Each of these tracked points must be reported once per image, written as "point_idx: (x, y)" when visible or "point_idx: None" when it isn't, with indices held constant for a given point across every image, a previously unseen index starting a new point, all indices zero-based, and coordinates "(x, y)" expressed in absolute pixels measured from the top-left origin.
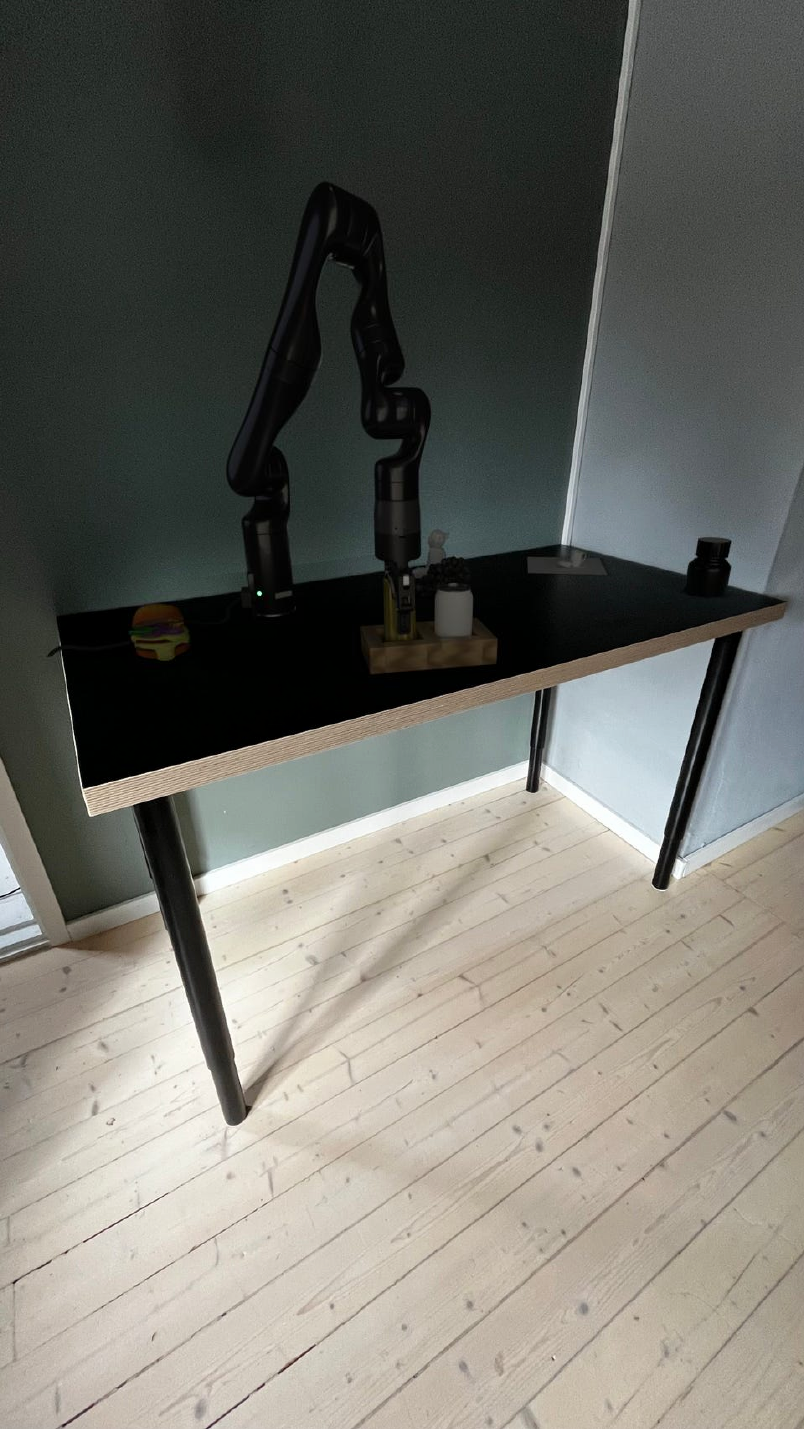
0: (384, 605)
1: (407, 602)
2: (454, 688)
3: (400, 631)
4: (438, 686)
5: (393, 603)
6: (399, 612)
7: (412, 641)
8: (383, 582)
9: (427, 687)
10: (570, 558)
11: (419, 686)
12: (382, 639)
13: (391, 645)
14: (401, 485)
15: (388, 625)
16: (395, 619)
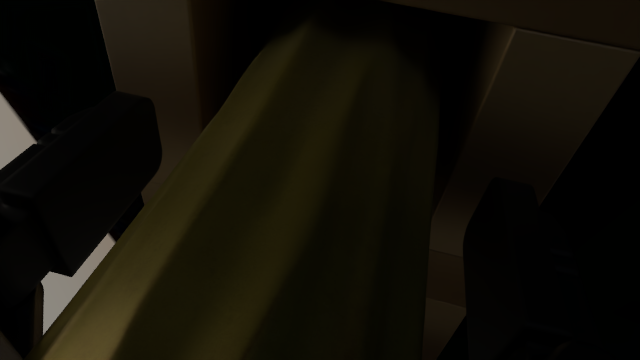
0: (292, 200)
1: (14, 335)
2: (31, 115)
3: (86, 109)
4: (41, 78)
5: (106, 263)
6: (10, 208)
7: (180, 140)
8: None
9: (26, 39)
10: None
11: (31, 14)
12: (488, 41)
13: (118, 4)
14: None
15: (250, 90)
16: (182, 159)
